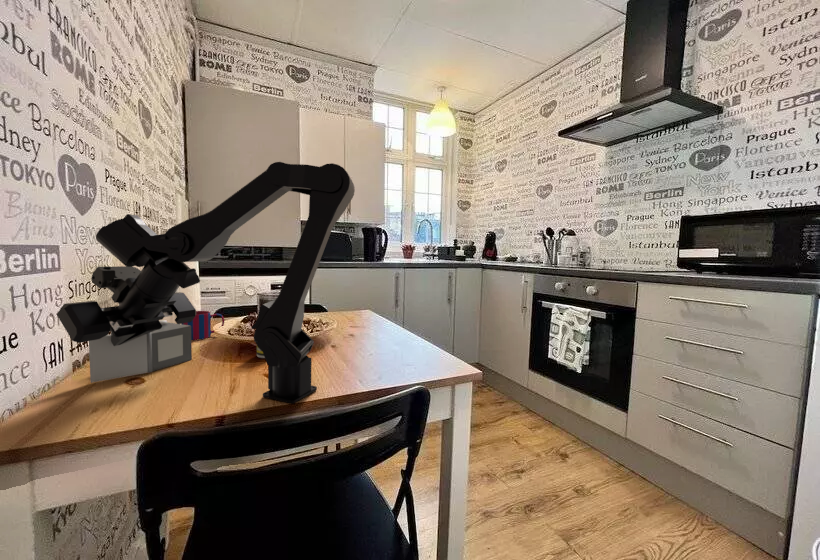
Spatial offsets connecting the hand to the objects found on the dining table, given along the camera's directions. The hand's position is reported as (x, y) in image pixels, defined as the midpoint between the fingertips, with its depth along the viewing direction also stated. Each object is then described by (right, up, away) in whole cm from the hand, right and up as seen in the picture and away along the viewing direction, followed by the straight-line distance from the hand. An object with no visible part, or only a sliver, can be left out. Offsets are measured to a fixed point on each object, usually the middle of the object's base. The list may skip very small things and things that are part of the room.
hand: (115, 343), depth 61 cm
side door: (0, -6, +2) cm, 7 cm away
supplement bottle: (+20, -6, +18) cm, 27 cm away
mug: (-4, -4, +32) cm, 32 cm away
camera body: (0, -6, +10) cm, 12 cm away
